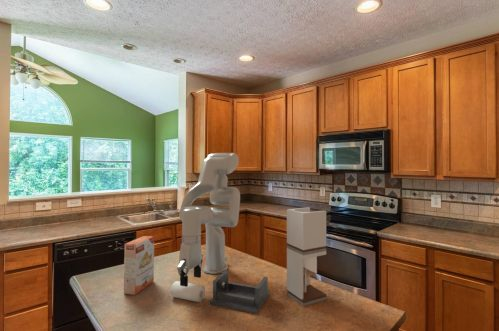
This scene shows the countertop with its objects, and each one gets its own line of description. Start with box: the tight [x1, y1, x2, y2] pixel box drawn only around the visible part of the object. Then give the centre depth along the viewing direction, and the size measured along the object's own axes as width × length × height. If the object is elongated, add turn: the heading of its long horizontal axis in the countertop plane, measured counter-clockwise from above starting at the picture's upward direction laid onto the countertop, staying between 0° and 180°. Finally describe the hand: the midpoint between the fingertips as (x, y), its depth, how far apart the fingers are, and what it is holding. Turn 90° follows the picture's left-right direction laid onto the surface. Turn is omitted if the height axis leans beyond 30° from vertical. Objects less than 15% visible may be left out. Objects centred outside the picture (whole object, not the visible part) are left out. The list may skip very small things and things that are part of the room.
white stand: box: [286, 206, 327, 307], centre depth 110 cm, size 11×11×35 cm
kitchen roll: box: [170, 280, 206, 303], centre depth 109 cm, size 6×12×6 cm
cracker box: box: [123, 235, 155, 296], centre depth 119 cm, size 14×6×21 cm, turn 168°
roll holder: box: [209, 270, 271, 315], centre depth 108 cm, size 16×19×8 cm
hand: (190, 281), depth 111 cm, fingers open, 9 cm apart
